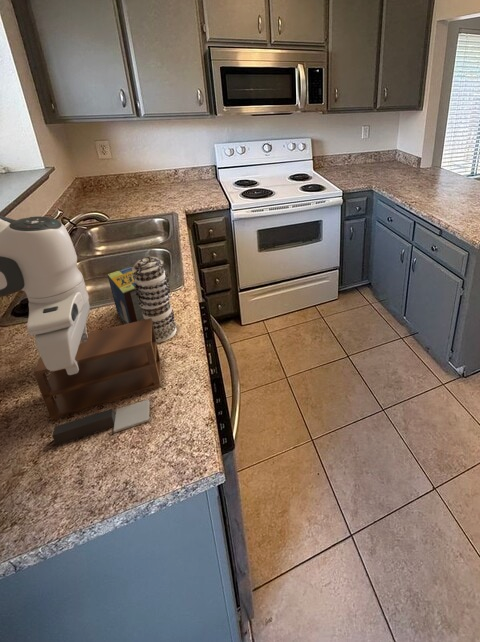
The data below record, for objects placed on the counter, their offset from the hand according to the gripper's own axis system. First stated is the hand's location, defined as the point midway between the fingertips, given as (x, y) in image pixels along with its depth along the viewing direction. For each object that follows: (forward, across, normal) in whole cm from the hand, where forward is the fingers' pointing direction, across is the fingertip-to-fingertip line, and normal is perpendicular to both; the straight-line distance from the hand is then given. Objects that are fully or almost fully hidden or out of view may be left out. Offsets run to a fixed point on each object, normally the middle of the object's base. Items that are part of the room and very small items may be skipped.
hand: (79, 355), depth 73 cm
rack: (+20, -11, +1) cm, 23 cm away
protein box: (+20, -39, +7) cm, 45 cm away
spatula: (+20, 0, 0) cm, 20 cm away
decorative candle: (+20, -28, +13) cm, 37 cm away
